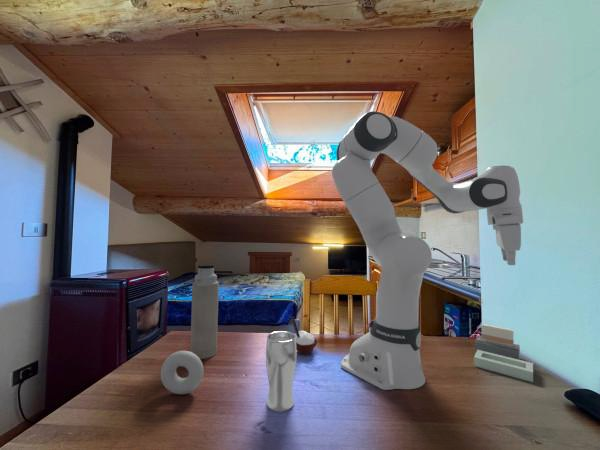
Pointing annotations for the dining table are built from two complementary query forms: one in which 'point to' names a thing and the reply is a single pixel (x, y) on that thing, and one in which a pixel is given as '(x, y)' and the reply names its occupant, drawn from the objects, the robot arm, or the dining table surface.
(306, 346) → the coconut drink with straw
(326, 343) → the dining table surface
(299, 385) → the dining table surface
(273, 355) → the beer glass
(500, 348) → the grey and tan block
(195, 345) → the thermos bottle
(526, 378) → the tray
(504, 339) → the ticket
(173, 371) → the donut
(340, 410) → the dining table surface
